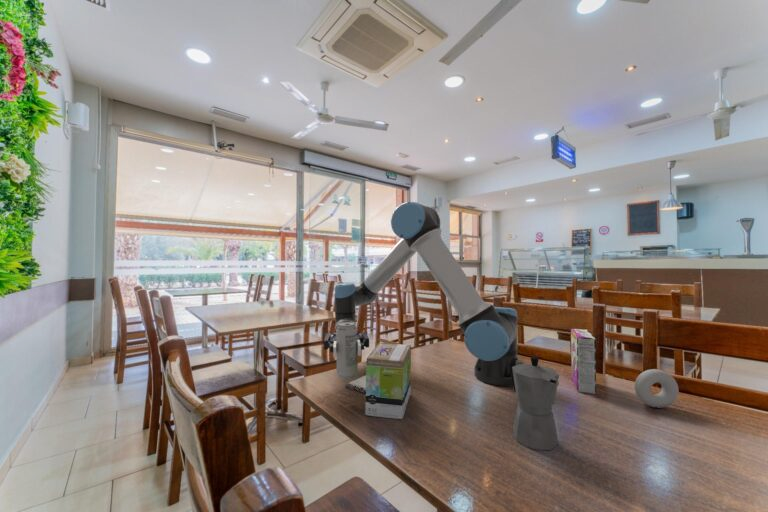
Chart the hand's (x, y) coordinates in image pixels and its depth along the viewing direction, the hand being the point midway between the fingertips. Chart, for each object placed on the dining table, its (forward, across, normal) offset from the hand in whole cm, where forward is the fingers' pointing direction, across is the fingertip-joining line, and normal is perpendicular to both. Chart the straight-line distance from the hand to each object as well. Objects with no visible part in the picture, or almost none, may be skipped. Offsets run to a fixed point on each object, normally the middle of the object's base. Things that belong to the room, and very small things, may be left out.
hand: (347, 351), depth 88 cm
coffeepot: (+21, -40, -15) cm, 48 cm away
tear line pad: (-12, -7, -14) cm, 20 cm away
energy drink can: (-5, 0, -9) cm, 10 cm away
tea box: (+2, -11, -15) cm, 19 cm away
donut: (+13, -81, -16) cm, 83 cm away
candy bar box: (-2, -71, -15) cm, 73 cm away
